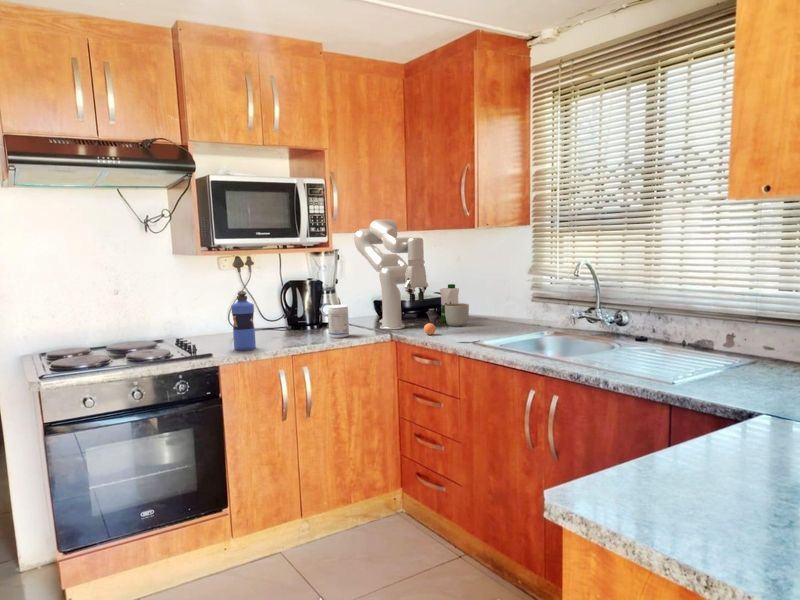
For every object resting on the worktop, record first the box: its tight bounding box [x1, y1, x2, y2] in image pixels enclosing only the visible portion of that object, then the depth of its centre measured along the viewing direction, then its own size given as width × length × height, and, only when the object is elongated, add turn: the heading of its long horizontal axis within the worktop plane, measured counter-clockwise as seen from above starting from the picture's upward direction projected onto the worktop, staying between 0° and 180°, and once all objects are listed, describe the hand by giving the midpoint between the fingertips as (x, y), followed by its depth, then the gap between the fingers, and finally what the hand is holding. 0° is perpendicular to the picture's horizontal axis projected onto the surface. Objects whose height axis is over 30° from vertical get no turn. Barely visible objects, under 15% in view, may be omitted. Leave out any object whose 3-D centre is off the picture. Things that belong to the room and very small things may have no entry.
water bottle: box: [230, 290, 257, 352], centre depth 244 cm, size 9×9×25 cm
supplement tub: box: [327, 304, 350, 339], centre depth 269 cm, size 10×10×15 cm
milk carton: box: [439, 283, 460, 322], centre depth 308 cm, size 9×9×20 cm
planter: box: [445, 302, 470, 327], centre depth 293 cm, size 12×12×11 cm
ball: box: [423, 322, 437, 336], centre depth 267 cm, size 6×6×6 cm
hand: (416, 301), depth 272 cm, fingers open, 4 cm apart
